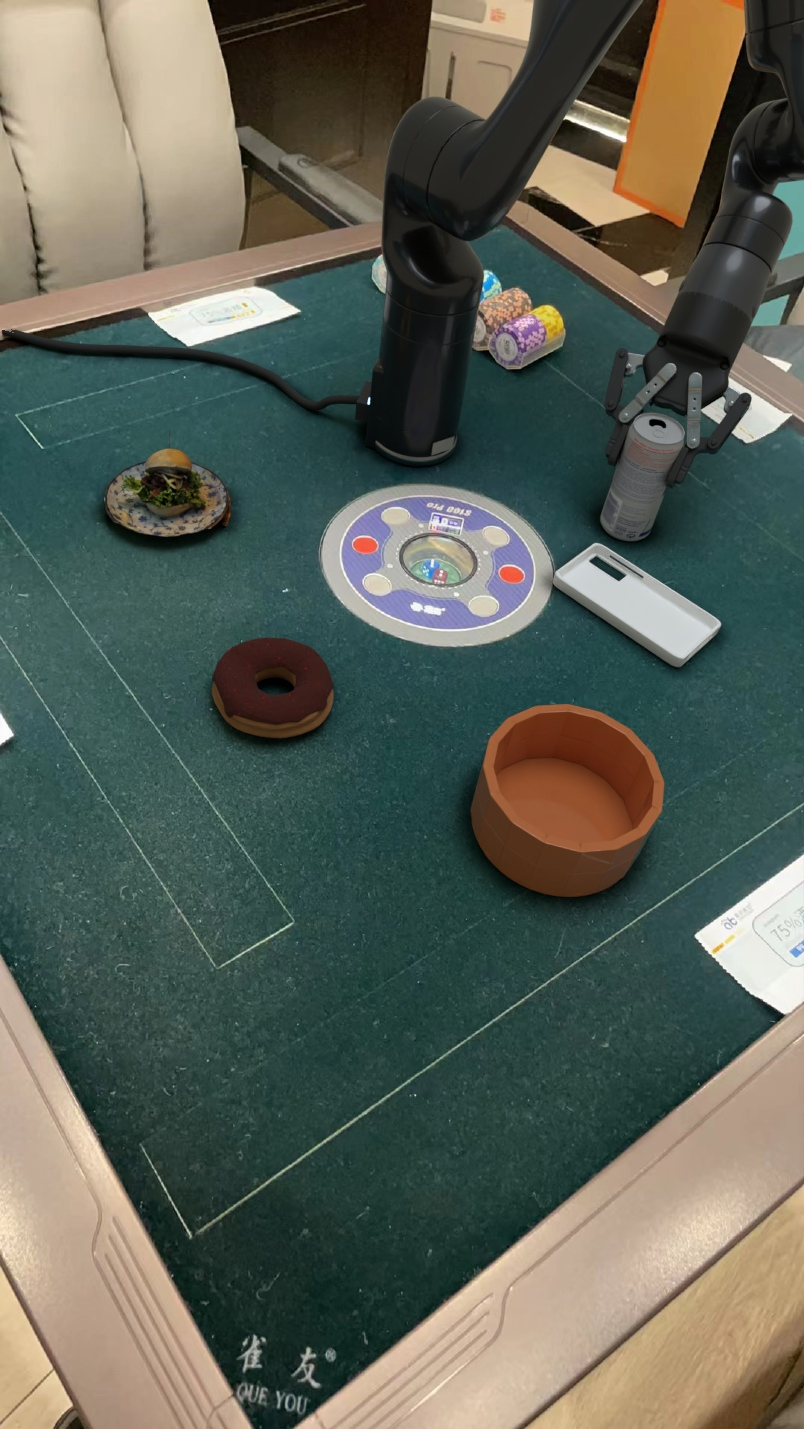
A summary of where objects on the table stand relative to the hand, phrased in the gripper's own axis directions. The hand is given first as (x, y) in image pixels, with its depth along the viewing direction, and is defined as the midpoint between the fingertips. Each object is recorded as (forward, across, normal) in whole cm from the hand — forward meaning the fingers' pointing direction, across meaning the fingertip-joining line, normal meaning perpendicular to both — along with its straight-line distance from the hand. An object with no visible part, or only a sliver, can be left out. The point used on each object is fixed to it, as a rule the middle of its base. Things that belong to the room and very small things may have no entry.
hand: (639, 474), depth 102 cm
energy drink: (+4, 0, -7) cm, 8 cm away
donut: (+32, +18, +21) cm, 42 cm away
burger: (+21, +39, +10) cm, 46 cm away
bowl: (+31, -8, +20) cm, 38 cm away
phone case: (+12, -5, +1) cm, 13 cm away
